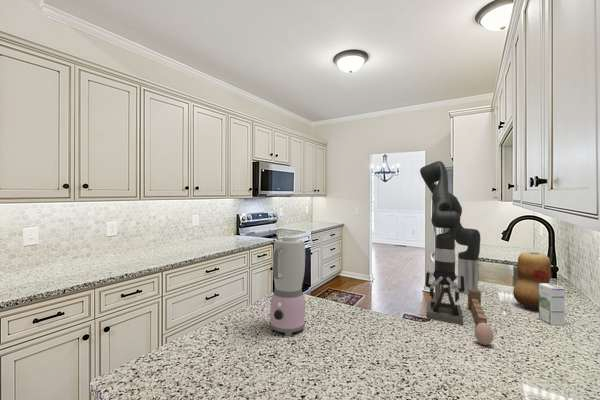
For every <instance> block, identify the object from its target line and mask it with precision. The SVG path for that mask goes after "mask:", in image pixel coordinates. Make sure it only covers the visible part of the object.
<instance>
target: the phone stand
mask: <svg viewBox="0 0 600 400" xmlns="http://www.w3.org/2000/svg"><path fill="white" fill-rule="evenodd" d="M445 286H447V287H445ZM444 294H447V296H448V300H449V304H451V308H452V310H450V309H444V308H439V307H440V304H441V302H442V300H443V298H444ZM434 301H435V303H434V306H433V312H439V313H445V314H451V315H457V316H458V312H457V309H456V306H455V304H456V303H455V300H454V298H453V295H452V293H451V285H449V284H448V283H447V285H445V283H443V284H442V285H441V288H440V290H439V292H438V294H437V296H436V299H435V300H434Z"/></svg>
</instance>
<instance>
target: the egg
mask: <svg viewBox="0 0 600 400" xmlns="http://www.w3.org/2000/svg"><path fill="white" fill-rule="evenodd" d="M474 337H475V339H476V341H477V342H479V344H481V345H482V346H483V345H484V346H488V345H491V344H492V342H493V341H494V332H493V329H492V328H491V326H490V325H489V324H488V323H487V324H486V323H479V324H478V325H476V326H475V327H474Z"/></svg>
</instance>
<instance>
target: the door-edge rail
mask: <svg viewBox="0 0 600 400" xmlns="http://www.w3.org/2000/svg"><path fill="white" fill-rule="evenodd" d="M481 303H482V292H481V290H479V289H478V290H471V289H468V294H467V308H468V311H471V314H472V317H473V319H474V322H475V325H476V326H477V325H478V324H479V323H486V324H487V325H488V317H487V316H486V314H485V312H484V309H483V307H482V305H481Z"/></svg>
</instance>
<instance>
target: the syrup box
mask: <svg viewBox="0 0 600 400" xmlns="http://www.w3.org/2000/svg"><path fill="white" fill-rule="evenodd" d="M565 290H566V288H565V287H563V286H561V285H557V284H554V283H550V282H549V283H541V284H539V310H538V319H539V320H540V321H543V322H544V323H547V324H549V325H554V326H566V304H565V303H566V291H565Z"/></svg>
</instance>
